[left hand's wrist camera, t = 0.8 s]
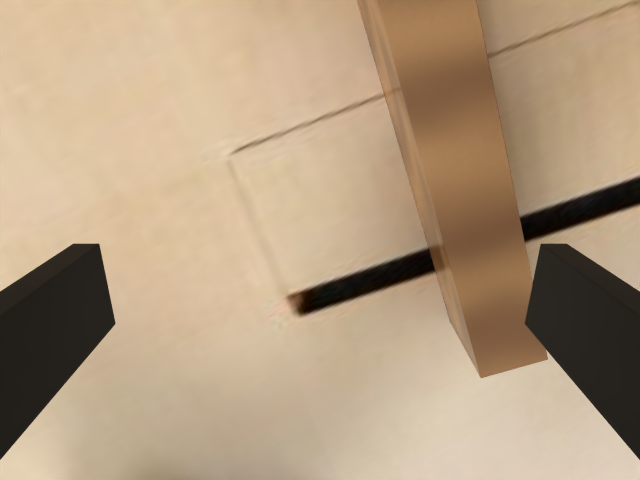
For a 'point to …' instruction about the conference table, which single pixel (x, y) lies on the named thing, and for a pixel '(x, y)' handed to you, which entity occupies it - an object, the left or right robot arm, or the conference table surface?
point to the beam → (457, 171)
